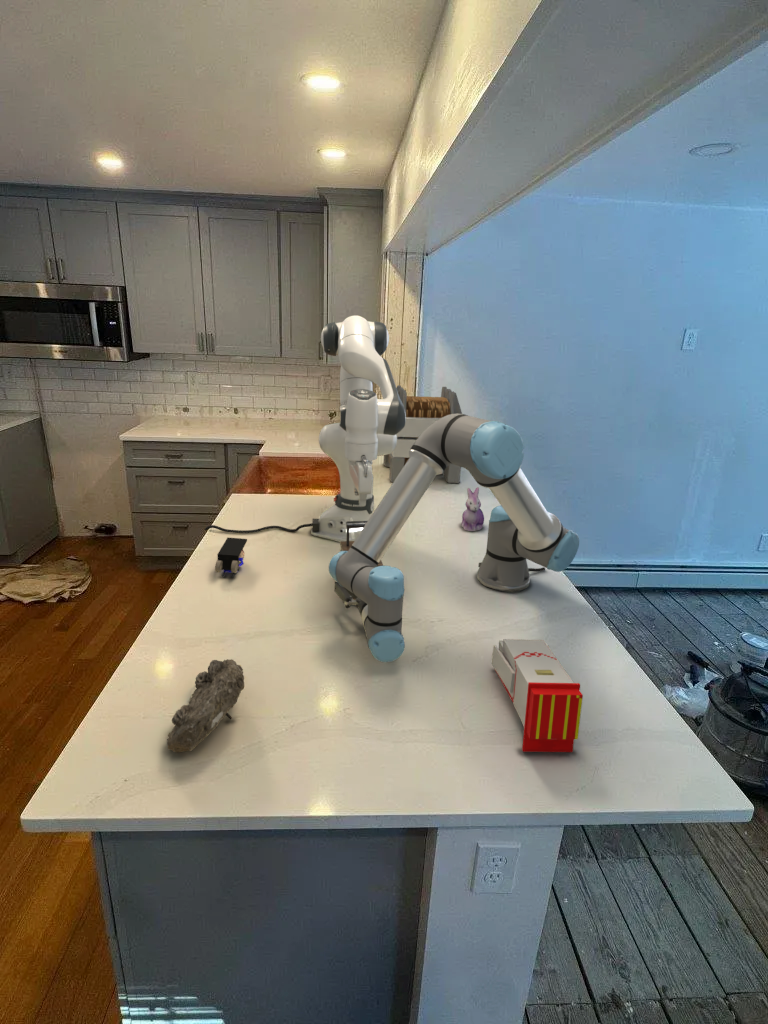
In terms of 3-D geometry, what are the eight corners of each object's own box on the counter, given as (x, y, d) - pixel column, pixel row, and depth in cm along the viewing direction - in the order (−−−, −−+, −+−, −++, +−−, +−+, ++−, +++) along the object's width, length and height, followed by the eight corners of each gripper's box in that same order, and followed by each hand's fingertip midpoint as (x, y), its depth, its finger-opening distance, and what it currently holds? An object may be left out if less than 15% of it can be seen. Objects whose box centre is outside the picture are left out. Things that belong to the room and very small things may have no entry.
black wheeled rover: (238, 584, 162) (249, 557, 175) (236, 562, 158) (247, 536, 172) (215, 584, 161) (227, 556, 175) (212, 561, 158) (225, 535, 171)
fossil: (192, 660, 117) (244, 628, 112) (224, 691, 120) (276, 661, 115) (142, 746, 98) (202, 712, 93) (182, 779, 101) (242, 748, 96)
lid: (340, 544, 165) (340, 517, 162) (373, 543, 167) (374, 516, 164) (347, 570, 149) (347, 540, 146) (383, 569, 151) (384, 539, 148)
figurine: (470, 533, 202) (474, 493, 197) (453, 524, 211) (457, 485, 206) (491, 530, 207) (495, 491, 202) (474, 520, 215) (478, 483, 210)
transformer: (382, 463, 289) (386, 382, 275) (445, 464, 293) (451, 384, 279) (390, 482, 257) (394, 392, 243) (460, 483, 261) (468, 394, 247)
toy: (540, 622, 128) (592, 691, 98) (535, 677, 130) (584, 759, 101) (487, 621, 127) (523, 690, 98) (483, 676, 130) (516, 758, 101)
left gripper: (379, 461, 144) (377, 512, 149) (367, 443, 163) (365, 489, 168) (354, 461, 143) (353, 512, 148) (345, 443, 162) (344, 489, 166)
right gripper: (329, 630, 133) (321, 586, 154) (421, 624, 137) (402, 582, 158) (329, 601, 130) (322, 561, 151) (423, 597, 134) (403, 558, 155)
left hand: (359, 500), depth 158 cm, fingers open, 8 cm apart
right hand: (363, 572), depth 154 cm, fingers closed on chest, 10 cm apart
